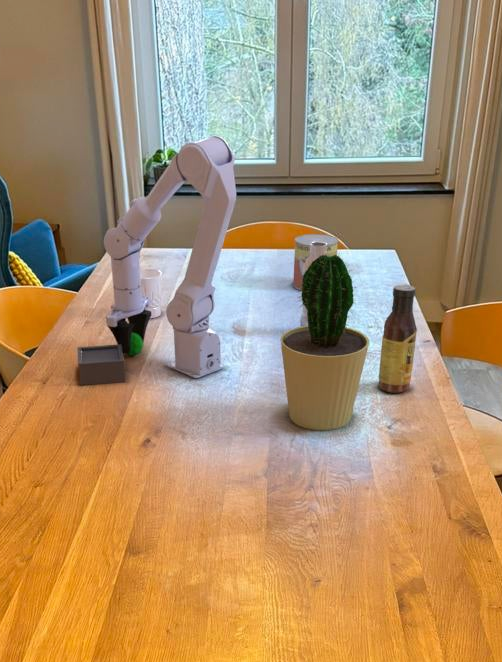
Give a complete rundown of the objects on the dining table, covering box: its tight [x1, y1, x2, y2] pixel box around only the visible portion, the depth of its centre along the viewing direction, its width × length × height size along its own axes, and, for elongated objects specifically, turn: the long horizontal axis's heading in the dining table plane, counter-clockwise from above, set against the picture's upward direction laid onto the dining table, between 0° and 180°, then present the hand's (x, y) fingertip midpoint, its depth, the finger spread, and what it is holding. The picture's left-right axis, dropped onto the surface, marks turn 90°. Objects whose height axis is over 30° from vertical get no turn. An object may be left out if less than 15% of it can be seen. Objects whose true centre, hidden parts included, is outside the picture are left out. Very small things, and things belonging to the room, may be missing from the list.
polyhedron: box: [125, 333, 144, 357], centre depth 171 cm, size 5×5×5 cm
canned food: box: [292, 233, 340, 291], centre depth 209 cm, size 11×11×12 cm
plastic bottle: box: [299, 242, 327, 327], centre depth 177 cm, size 6×7×20 cm
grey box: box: [76, 343, 127, 386], centre depth 162 cm, size 9×9×5 cm
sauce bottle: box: [378, 284, 418, 394], centre depth 151 cm, size 6×6×20 cm
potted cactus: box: [280, 251, 370, 431], centre depth 138 cm, size 15×15×30 cm
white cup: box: [140, 268, 163, 320], centre depth 191 cm, size 8×8×10 cm
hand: (131, 348), depth 172 cm, fingers closed on polyhedron, 5 cm apart
